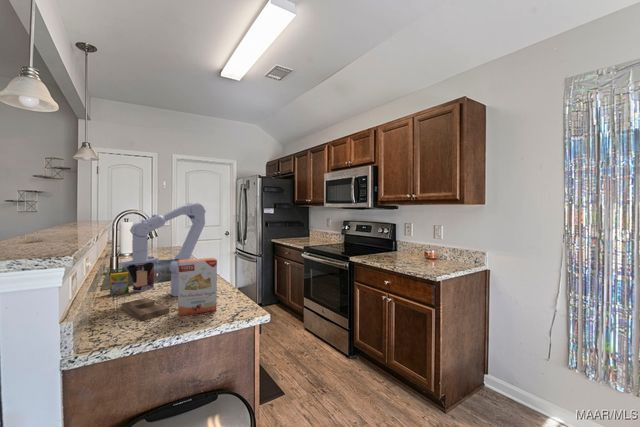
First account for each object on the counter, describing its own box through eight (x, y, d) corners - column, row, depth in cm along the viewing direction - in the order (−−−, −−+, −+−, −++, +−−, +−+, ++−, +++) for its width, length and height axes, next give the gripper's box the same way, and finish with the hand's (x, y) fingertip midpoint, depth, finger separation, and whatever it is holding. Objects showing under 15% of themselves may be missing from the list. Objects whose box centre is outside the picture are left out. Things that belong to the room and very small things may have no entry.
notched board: (147, 302, 130) (147, 297, 130) (169, 312, 117) (169, 307, 117) (121, 308, 122) (121, 303, 122) (141, 320, 109) (141, 315, 109)
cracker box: (178, 316, 113) (178, 262, 113) (178, 311, 119) (177, 259, 118) (217, 311, 120) (217, 259, 119) (214, 306, 125) (214, 256, 124)
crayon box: (110, 295, 139) (109, 270, 139) (110, 293, 141) (109, 269, 141) (128, 292, 143) (128, 268, 143) (128, 291, 146) (128, 267, 145)
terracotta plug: (143, 283, 133) (143, 270, 133) (147, 285, 131) (147, 271, 131) (133, 285, 130) (133, 271, 130) (137, 286, 128) (136, 272, 127)
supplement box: (141, 292, 144) (141, 259, 144) (132, 291, 145) (132, 259, 145) (154, 287, 153) (154, 256, 152) (146, 286, 154) (146, 256, 153)
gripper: (153, 247, 138) (154, 276, 138) (117, 251, 127) (118, 283, 127) (160, 249, 134) (160, 279, 134) (123, 253, 122) (124, 285, 123)
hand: (140, 281), depth 130 cm, fingers closed on terracotta plug, 4 cm apart
